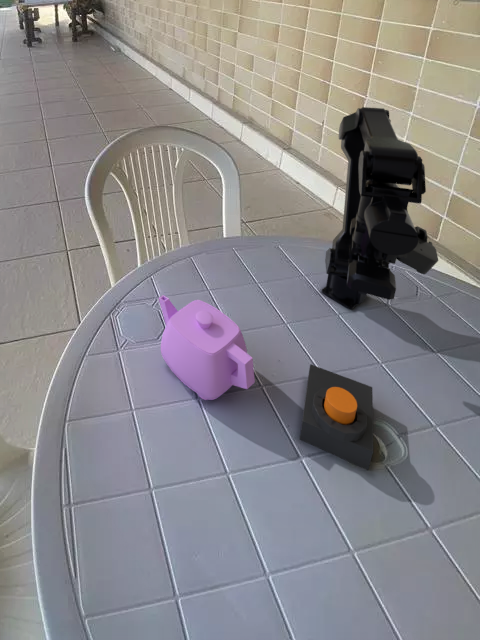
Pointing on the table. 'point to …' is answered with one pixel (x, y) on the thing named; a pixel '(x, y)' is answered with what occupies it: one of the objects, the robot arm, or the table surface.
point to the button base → (332, 435)
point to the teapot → (205, 349)
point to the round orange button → (340, 405)
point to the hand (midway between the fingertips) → (362, 292)
